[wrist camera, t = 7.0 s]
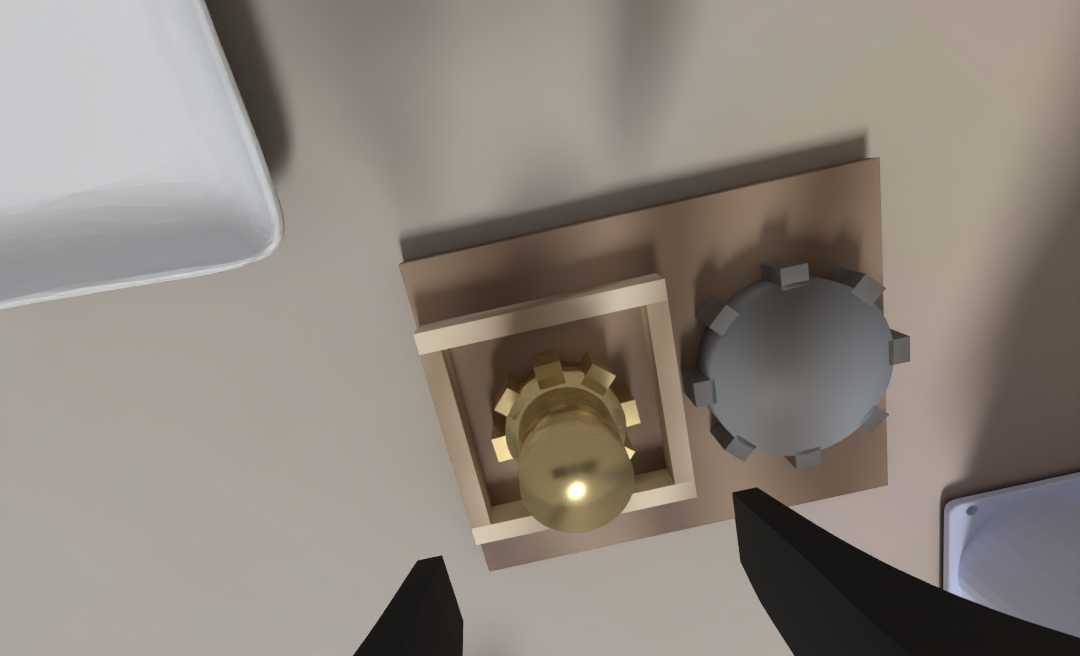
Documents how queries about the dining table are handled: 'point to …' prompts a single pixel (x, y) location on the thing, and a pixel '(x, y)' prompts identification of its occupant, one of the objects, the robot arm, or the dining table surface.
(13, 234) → the salad plate
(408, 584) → the robot arm
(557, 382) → the brass gear
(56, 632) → the dining table surface
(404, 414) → the dining table surface
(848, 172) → the gear board
